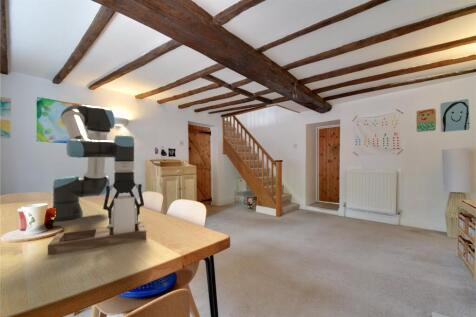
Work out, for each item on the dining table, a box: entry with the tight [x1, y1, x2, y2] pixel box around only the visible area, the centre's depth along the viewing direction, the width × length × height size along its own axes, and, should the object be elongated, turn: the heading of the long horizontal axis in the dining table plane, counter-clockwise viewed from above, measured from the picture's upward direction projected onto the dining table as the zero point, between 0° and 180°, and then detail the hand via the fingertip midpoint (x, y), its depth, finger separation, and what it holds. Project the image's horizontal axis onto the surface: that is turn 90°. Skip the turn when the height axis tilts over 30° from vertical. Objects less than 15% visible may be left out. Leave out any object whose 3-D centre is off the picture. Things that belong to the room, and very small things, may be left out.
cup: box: [112, 194, 136, 235], centre depth 94 cm, size 8×8×16 cm
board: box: [47, 221, 147, 256], centre depth 96 cm, size 27×32×4 cm
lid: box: [106, 215, 141, 228], centre depth 104 cm, size 13×13×4 cm
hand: (124, 223), depth 94 cm, fingers closed on cup, 8 cm apart
